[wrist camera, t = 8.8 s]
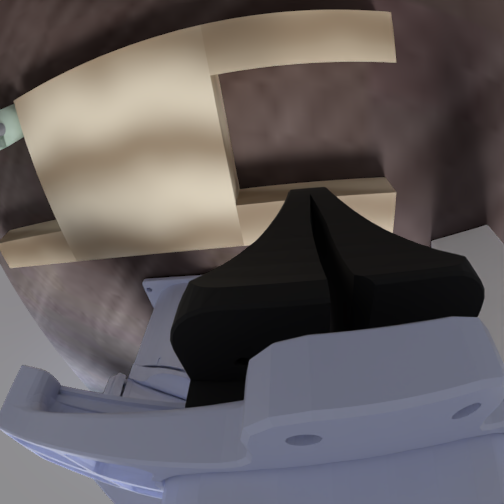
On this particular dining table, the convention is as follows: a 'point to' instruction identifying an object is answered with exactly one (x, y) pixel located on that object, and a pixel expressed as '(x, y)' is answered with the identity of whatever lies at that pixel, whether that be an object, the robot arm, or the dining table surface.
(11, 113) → the hinged leg
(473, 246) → the milk
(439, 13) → the dining table surface
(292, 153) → the dining table surface
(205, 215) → the tan long rail frame
